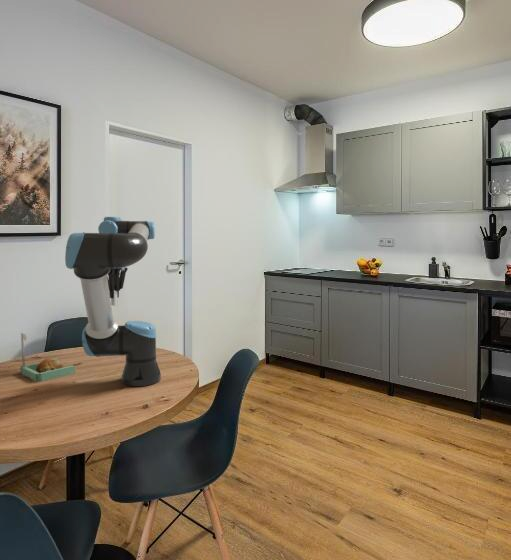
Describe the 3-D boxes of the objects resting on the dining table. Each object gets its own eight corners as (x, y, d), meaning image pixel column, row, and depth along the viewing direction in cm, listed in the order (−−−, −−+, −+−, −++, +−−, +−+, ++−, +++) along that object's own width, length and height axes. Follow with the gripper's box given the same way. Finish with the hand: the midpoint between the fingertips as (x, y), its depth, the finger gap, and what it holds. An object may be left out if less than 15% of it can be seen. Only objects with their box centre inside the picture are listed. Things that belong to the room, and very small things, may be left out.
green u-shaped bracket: (74, 373, 173) (73, 333, 172) (37, 382, 162) (35, 339, 160) (56, 365, 183) (55, 327, 182) (20, 373, 172) (18, 333, 170)
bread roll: (65, 379, 176) (69, 360, 179) (51, 376, 166) (56, 356, 169) (43, 378, 177) (47, 359, 180) (28, 375, 167) (33, 355, 170)
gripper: (121, 251, 190) (122, 302, 193) (95, 252, 180) (96, 306, 183) (131, 252, 186) (132, 304, 188) (104, 252, 176) (105, 308, 178)
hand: (114, 305), depth 185 cm, fingers closed
